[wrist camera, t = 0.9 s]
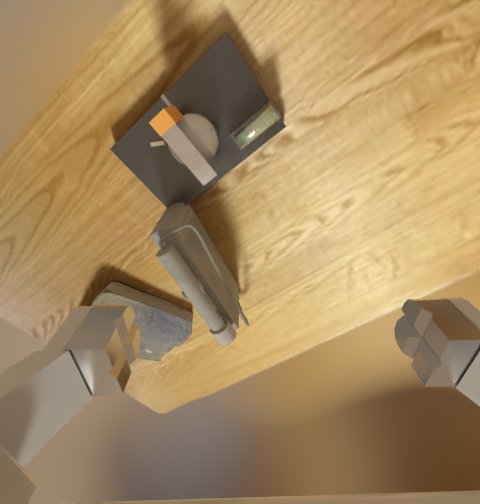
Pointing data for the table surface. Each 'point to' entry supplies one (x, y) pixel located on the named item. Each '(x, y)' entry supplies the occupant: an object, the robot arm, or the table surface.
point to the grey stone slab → (150, 319)
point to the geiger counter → (199, 270)
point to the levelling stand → (214, 107)
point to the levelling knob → (190, 140)
